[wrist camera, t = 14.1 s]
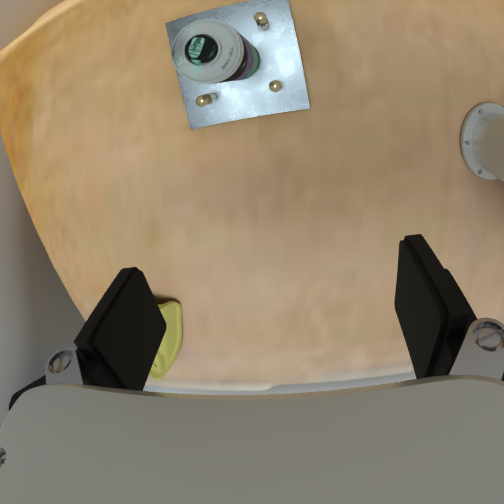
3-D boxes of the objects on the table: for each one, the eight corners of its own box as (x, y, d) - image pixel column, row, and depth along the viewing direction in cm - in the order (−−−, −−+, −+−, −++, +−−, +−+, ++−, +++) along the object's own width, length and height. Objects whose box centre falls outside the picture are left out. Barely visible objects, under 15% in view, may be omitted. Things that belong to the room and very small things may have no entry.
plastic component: (118, 293, 56) (154, 317, 52) (145, 278, 62) (181, 298, 58) (130, 361, 66) (161, 384, 62) (152, 345, 71) (183, 366, 67)
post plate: (286, -3, 30) (286, -15, 24) (309, 107, 38) (313, 112, 33) (169, 24, 33) (150, 18, 27) (193, 127, 41) (179, 137, 36)
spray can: (223, 85, 36) (170, 96, 19) (212, 47, 33) (149, 29, 17) (265, 74, 35) (246, 73, 18) (254, 36, 32) (225, 2, 15)
